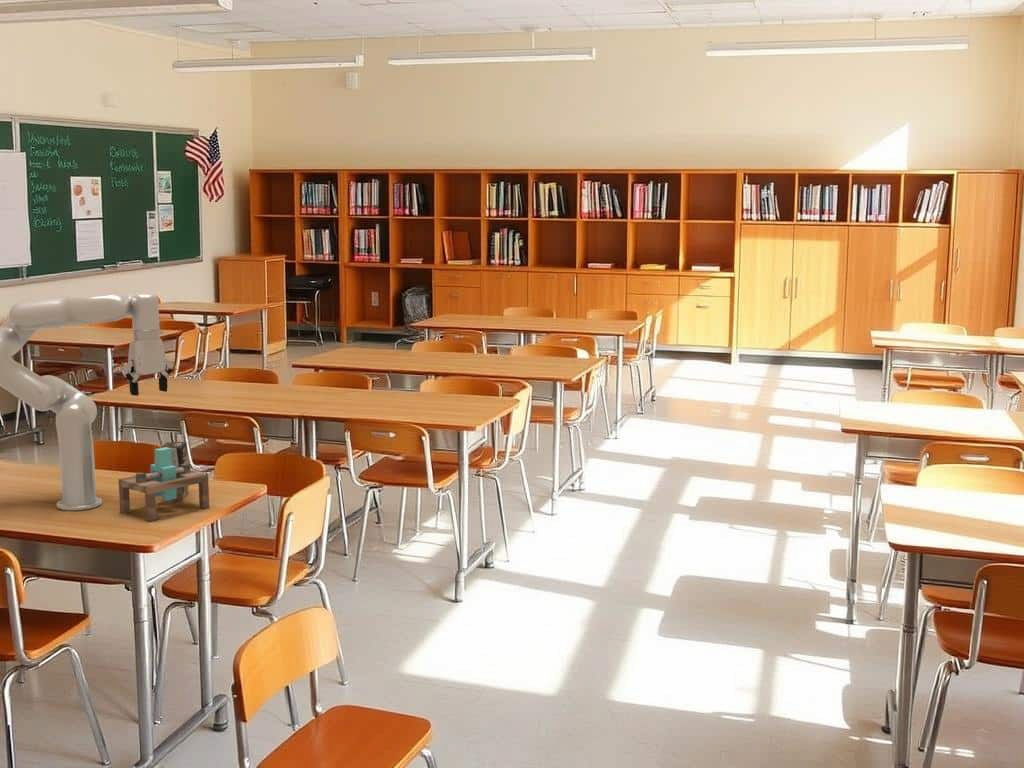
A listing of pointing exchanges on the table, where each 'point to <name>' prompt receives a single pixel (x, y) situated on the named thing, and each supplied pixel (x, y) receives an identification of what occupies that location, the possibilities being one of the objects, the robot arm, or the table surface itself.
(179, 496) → the wooden rack stand
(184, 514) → the table surface
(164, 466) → the teal stepped block
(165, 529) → the table surface
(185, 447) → the coffee box
